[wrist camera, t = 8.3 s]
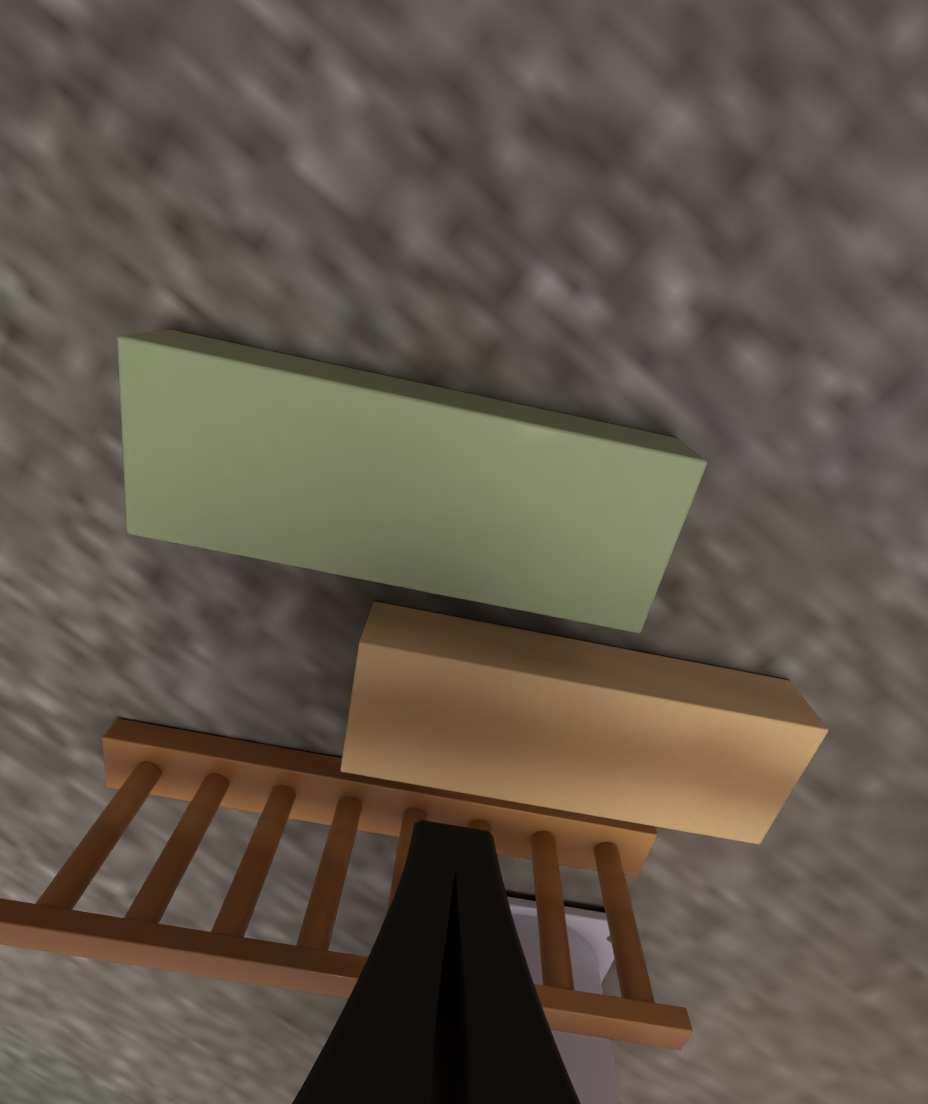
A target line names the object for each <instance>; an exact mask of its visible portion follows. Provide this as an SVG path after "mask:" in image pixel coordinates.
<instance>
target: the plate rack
mask: <svg viewBox="0 0 928 1104" xmlns="http://www.w3.org/2000/svg"><path fill="white" fill-rule="evenodd" d="M102 742H103V754H104V766H105V778H106V787H110V788H116V789H119V791H118V792H117V793H116V795H115V796H114V797H113V799H112V800H111V802H110V803H109V804H108V806H107V807H106V808H105V810H104V811H103V812H102V814H101V815H100V817H99V818H98V819H97V821H96V822H95V823H94V825H93V826H92V827H91V829H90V830H89V832H88V833H87V834H86V836H85V837H84V838H83V840H82V841H81V842H80V844H79V845H78V847H77V848H76V849H75V851H74V852H73V853H72V855H71V856H70V857H69V859H68V860H67V862H66V863H65V864H64V866H63V867H62V868H61V870H60V871H59V872H58V874H57V875H56V876H55V878H54V879H53V881H52V882H51V883H50V885H49V886H48V887H47V889H46V890H45V891H44V893H43V894H42V896H41V897H40V898H39V900H38V901H37V902H36V904H31V903H25V902H19V901H13V900H6V899H0V944H2V945H8V946H15V947H21V948H27V949H34V950H40V951H47V952H53V953H60V954H66V955H72V956H79V957H85V958H92V959H98V960H104V961H111V962H117V963H124V964H130V965H137V966H143V967H149V968H156V969H162V970H169V971H175V972H182V973H188V974H194V975H201V976H207V977H214V978H220V979H227V980H233V981H239V982H246V983H252V984H259V985H265V986H272V987H278V988H284V989H291V990H297V991H304V992H310V993H316V994H323V995H329V996H336V997H342V998H349V997H350V995H351V993H352V991H353V988H354V986H355V984H356V982H357V980H358V978H359V976H360V974H361V972H362V970H363V968H364V965H365V963H366V961H367V959H368V957H363V956H357V955H351V954H344V953H338V952H332V951H328V948H329V944H330V940H331V936H332V931H333V927H334V923H335V919H336V915H337V910H338V906H339V902H340V898H341V894H342V889H343V885H344V881H345V877H346V873H347V868H348V864H349V860H350V856H351V852H352V847H353V843H354V839H355V835H356V831H357V830H361V831H367V832H373V833H378V834H384V835H390V836H396V837H399V842H398V848H397V854H396V861H395V867H394V873H393V880H392V886H391V893H390V899H389V905H388V910H389V908H390V905H391V903H392V901H393V898H394V895H395V893H396V890H397V887H398V884H399V881H400V878H401V876H402V873H403V870H404V866H405V863H406V859H407V854H408V850H409V845H410V840H411V836H412V831H413V827H414V823H416V822H418V821H420V820H425V821H431V822H437V823H443V824H449V825H455V826H461V827H467V828H473V829H479V830H485V831H489V832H490V833H491V834H492V835H493V837H494V842H495V848H496V853H497V854H501V855H507V856H513V857H518V858H524V859H530V860H533V873H534V885H535V897H536V909H537V921H538V933H539V945H540V957H541V969H542V981H543V985H538V984H534V985H535V988H536V991H537V994H538V997H539V1000H540V1002H541V1005H542V1008H543V1011H544V1013H545V1016H546V1019H547V1021H548V1024H549V1026H550V1029H551V1030H554V1031H561V1032H567V1033H573V1034H580V1035H586V1036H593V1037H599V1038H606V1039H612V1040H618V1041H625V1042H631V1043H638V1044H644V1045H651V1046H657V1047H663V1048H670V1049H676V1050H681V1048H682V1047H683V1045H684V1044H685V1042H686V1041H687V1039H688V1038H689V1036H690V1035H691V1033H692V1027H691V1024H690V1020H689V1016H688V1013H687V1009H686V1008H682V1007H676V1006H670V1005H664V1004H657V1003H655V1001H654V997H653V993H652V989H651V984H650V980H649V976H648V972H647V968H646V963H645V959H644V955H643V951H642V947H641V943H640V938H639V934H638V930H637V926H636V922H635V917H634V913H633V909H632V905H631V901H630V896H629V892H628V888H627V884H626V880H625V876H629V877H635V878H636V877H637V876H638V874H639V872H640V870H641V868H642V866H643V864H644V862H645V860H646V858H647V856H648V854H649V852H650V850H651V848H652V846H653V844H654V842H655V840H656V838H657V831H656V828H655V826H650V825H645V824H639V823H633V822H627V821H622V820H616V819H610V818H604V817H599V816H593V815H587V814H581V813H576V812H570V811H564V810H559V809H553V808H547V807H541V806H536V805H530V804H524V803H518V802H513V801H507V800H501V799H495V798H490V797H484V796H478V795H472V794H467V793H461V792H455V791H450V790H444V789H438V788H432V787H427V786H421V785H415V784H409V783H404V782H398V781H392V780H386V779H381V778H375V777H369V776H363V775H358V774H352V773H346V772H341V770H340V768H341V761H342V758H337V757H332V756H326V755H321V754H315V753H309V752H304V751H298V750H292V749H287V748H281V747H276V746H270V745H264V744H259V743H253V742H247V741H242V740H236V739H231V738H225V737H219V736H214V735H208V734H202V733H197V732H191V731H186V730H180V729H174V728H169V727H163V726H158V725H152V724H146V723H141V722H135V721H129V720H124V719H118V720H117V721H116V722H115V723H114V724H113V726H112V727H111V728H110V729H109V730H108V731H107V733H106V734H105V735H104V736H103V737H102ZM149 794H151V795H157V796H163V797H168V798H174V799H180V800H186V801H191V803H190V804H189V806H188V808H187V810H186V811H185V813H184V815H183V817H182V818H181V820H180V822H179V823H178V825H177V827H176V829H175V830H174V832H173V834H172V836H171V837H170V839H169V841H168V843H167V844H166V846H165V848H164V849H163V851H162V853H161V855H160V856H159V858H158V860H157V862H156V863H155V865H154V867H153V869H152V870H151V872H150V874H149V876H148V877H147V879H146V881H145V882H144V884H143V886H142V888H141V889H140V891H139V893H138V895H137V896H136V898H135V900H134V902H133V903H132V905H131V907H130V909H129V910H128V912H127V914H126V915H125V917H124V918H119V917H113V916H107V915H100V914H94V913H88V912H81V911H75V910H72V909H73V907H74V906H75V904H76V903H77V901H78V900H79V899H80V897H81V896H82V894H83V893H84V891H85V890H86V888H87V887H88V885H89V884H90V882H91V881H92V879H93V878H94V876H95V875H96V873H97V872H98V870H99V869H100V867H101V866H102V864H103V863H104V861H105V860H106V858H107V857H108V855H109V854H110V852H111V851H112V849H113V848H114V846H115V845H116V843H117V842H118V840H119V839H120V837H121V836H122V834H123V833H124V831H125V830H126V828H127V827H128V825H129V824H130V822H131V821H132V819H133V818H134V816H135V815H136V813H137V812H138V810H139V809H140V807H141V806H142V804H143V803H144V801H145V800H146V798H147V797H148V795H149ZM219 806H221V807H227V808H233V809H238V810H244V811H250V812H256V813H262V814H261V816H260V819H259V821H258V823H257V826H256V828H255V830H254V833H253V835H252V837H251V840H250V842H249V844H248V847H247V849H246V851H245V854H244V856H243V858H242V861H241V863H240V865H239V868H238V870H237V872H236V875H235V877H234V879H233V882H232V884H231V886H230V889H229V891H228V893H227V896H226V898H225V900H224V903H223V905H222V907H221V910H220V912H219V914H218V917H217V919H216V921H215V924H214V926H213V928H212V931H211V932H207V931H200V930H194V929H188V928H182V927H175V926H169V925H163V924H158V923H159V921H160V919H161V917H162V916H163V914H164V912H165V910H166V908H167V906H168V904H169V902H170V900H171V898H172V896H173V894H174V892H175V890H176V888H177V886H178V885H179V883H180V881H181V879H182V877H183V875H184V873H185V871H186V869H187V867H188V865H189V863H190V861H191V859H192V857H193V856H194V854H195V852H196V850H197V848H198V846H199V844H200V842H201V840H202V838H203V836H204V834H205V832H206V830H207V828H208V826H209V825H210V823H211V821H212V819H213V817H214V815H215V813H216V811H217V809H218V807H219ZM288 818H291V819H297V820H303V821H308V822H314V823H320V824H326V825H331V827H330V831H329V834H328V838H327V841H326V844H325V848H324V851H323V855H322V858H321V862H320V865H319V869H318V872H317V876H316V879H315V883H314V886H313V890H312V893H311V896H310V900H309V903H308V907H307V910H306V914H305V917H304V921H303V924H302V928H301V931H300V935H299V938H298V941H297V945H296V946H294V945H288V944H282V943H276V942H269V941H263V940H257V939H250V938H244V935H245V932H246V930H247V927H248V924H249V922H250V919H251V916H252V913H253V911H254V908H255V905H256V903H257V900H258V897H259V895H260V892H261V889H262V887H263V884H264V881H265V879H266V876H267V873H268V871H269V868H270V865H271V863H272V860H273V857H274V855H275V852H276V849H277V847H278V844H279V841H280V839H281V836H282V833H283V831H284V828H285V825H286V823H287V820H288ZM559 865H565V866H571V867H577V868H583V869H588V870H594V871H598V876H599V881H600V886H601V892H602V897H603V902H604V907H605V912H606V917H607V923H608V928H609V933H610V938H611V943H612V949H613V954H614V959H615V964H616V969H617V974H618V980H619V985H620V990H621V995H622V998H620V997H614V996H607V995H601V994H595V993H588V992H582V991H576V990H575V989H574V981H573V973H572V966H571V958H570V950H569V942H568V934H567V926H566V919H565V911H564V903H563V895H562V887H561V879H560V872H559ZM387 913H388V912H387Z"/></svg>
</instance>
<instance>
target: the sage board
mask: <svg viewBox="0 0 928 1104" xmlns="http://www.w3.org/2000/svg"><path fill="white" fill-rule="evenodd" d="M117 340H118V361H119V381H120V402H121V422H122V443H123V463H124V484H125V504H126V525H127V533H128V534H131V535H136V536H142V537H147V538H152V539H157V540H162V541H167V542H172V543H177V544H183V545H188V546H193V547H198V548H203V549H208V550H213V551H219V552H224V553H229V554H234V555H239V556H244V557H249V558H254V559H260V560H265V561H270V562H275V563H280V564H285V565H290V566H296V567H301V568H306V569H311V570H316V571H321V572H326V573H331V574H337V575H342V576H347V577H352V578H357V579H362V580H367V581H373V582H378V583H383V584H388V585H393V586H398V587H403V588H408V589H414V590H419V591H424V592H429V593H434V594H439V595H444V596H450V597H455V598H460V599H465V600H470V601H475V602H480V603H485V604H491V605H496V606H501V607H506V608H511V609H516V610H521V611H527V612H532V613H537V614H542V615H547V616H552V617H557V618H562V619H568V620H573V621H578V622H583V623H588V624H593V625H598V626H604V627H609V628H614V629H619V630H624V631H629V632H634V633H640V632H641V630H642V628H643V625H644V623H645V620H646V618H647V615H648V613H649V610H650V608H651V605H652V602H653V600H654V597H655V595H656V592H657V590H658V587H659V585H660V582H661V580H662V577H663V574H664V572H665V569H666V567H667V564H668V562H669V559H670V557H671V554H672V552H673V549H674V547H675V544H676V541H677V539H678V536H679V534H680V531H681V529H682V526H683V524H684V521H685V519H686V516H687V513H688V511H689V508H690V506H691V503H692V501H693V498H694V496H695V493H696V491H697V488H698V485H699V483H700V480H701V478H702V475H703V473H704V470H705V468H706V465H707V461H706V460H705V459H703V458H702V457H701V456H700V455H698V454H697V453H696V452H694V451H693V450H692V449H690V448H689V447H688V446H687V445H685V444H684V443H683V442H681V441H680V440H679V439H677V438H675V437H670V436H666V435H661V434H656V433H652V432H647V431H642V430H638V429H633V428H628V427H624V426H619V425H614V424H610V423H605V422H600V421H595V420H591V419H586V418H581V417H577V416H572V415H567V414H563V413H558V412H553V411H549V410H544V409H539V408H535V407H530V406H525V405H521V404H516V403H511V402H507V401H502V400H497V399H493V398H488V397H483V396H479V395H474V394H469V393H465V392H460V391H455V390H451V389H446V388H441V387H437V386H432V385H427V384H423V383H418V382H413V381H409V380H404V379H399V378H395V377H390V376H385V375H381V374H376V373H371V372H367V371H362V370H357V369H353V368H348V367H343V366H339V365H334V364H329V363H325V362H320V361H315V360H311V359H306V358H301V357H297V356H292V355H287V354H283V353H278V352H273V351H269V350H264V349H259V348H255V347H250V346H245V345H241V344H236V343H231V342H227V341H222V340H217V339H213V338H208V337H203V336H199V335H194V334H189V333H185V332H180V331H175V330H162V331H154V332H146V333H138V334H130V335H122V336H119V337H118V339H117Z"/></svg>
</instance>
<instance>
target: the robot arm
mask: <svg viewBox="0 0 928 1104" xmlns="http://www.w3.org/2000/svg"><path fill="white" fill-rule="evenodd" d="M564 911H565V919H566V926H567V934H568V942H569V950H570V958H571V966H572V973H573V981H574V989H575V990H576V991H582V992H588V993H595V994H601V995H603V991H602V985H601V983H602V981H603V979H604V977H605V976H606V974H607V972H608V970H609V968H610V966H611V964H612V962H613V960H614V954H613V949H612V943H611V938H610V933H609V928H608V923H607V917H606V913H603V912H597V911H591V910H585V909H579V908H573V907H567V906H564ZM534 984H538V985H543V981H542V969H541V957H540V945H539V933H538V921H537V909H536V901H532V900H526V899H520V898H514V897H508V896H507V895H506V891H505V887H504V883H503V880H502V875H501V871H500V867H499V862H498V858H497V853H496V848H495V842H494V837H493V835H492V834H491V833H490V832H489V831H485V830H479V829H473V828H467V827H461V826H455V825H449V824H443V823H437V822H431V821H425V820H420V821H418V822H416V823H414V827H413V831H412V836H411V840H410V845H409V850H408V854H407V859H406V863H405V866H404V870H403V873H402V876H401V878H400V881H399V884H398V887H397V890H396V893H395V895H394V898H393V901H392V903H391V905H390V908H389V910H388V913H387V915H386V917H385V920H384V922H383V925H382V927H381V930H380V932H379V934H378V937H377V939H376V942H375V944H374V946H373V948H372V951H371V953H370V955H369V957H368V959H367V961H366V963H365V965H364V968H363V970H362V972H361V974H360V976H359V978H358V980H357V982H356V984H355V986H354V988H353V991H352V993H351V995H350V997H349V999H348V1001H347V1003H346V1005H345V1007H344V1009H343V1011H342V1013H341V1015H340V1017H339V1019H338V1021H337V1023H336V1025H335V1026H334V1028H333V1030H332V1032H331V1034H330V1036H329V1038H328V1040H327V1042H326V1044H325V1045H324V1047H323V1049H322V1051H321V1053H320V1055H319V1057H318V1058H317V1060H316V1062H315V1064H314V1066H313V1067H312V1069H311V1071H310V1073H309V1075H308V1077H307V1078H306V1080H305V1082H304V1084H303V1086H302V1087H301V1089H300V1091H299V1093H298V1094H297V1096H296V1098H295V1099H294V1101H293V1103H292V1104H621V1099H620V1093H619V1087H618V1081H617V1075H616V1069H615V1063H614V1057H613V1051H612V1045H611V1039H606V1038H599V1037H593V1036H586V1035H580V1034H573V1033H567V1032H561V1031H554V1030H551V1029H550V1026H549V1024H548V1021H547V1019H546V1016H545V1013H544V1011H543V1008H542V1005H541V1002H540V1000H539V997H538V994H537V991H536V988H535V985H534Z"/></svg>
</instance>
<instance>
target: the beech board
mask: <svg viewBox="0 0 928 1104" xmlns="http://www.w3.org/2000/svg"><path fill="white" fill-rule="evenodd" d="M827 732H828V729H827V727H826V726H825V725H824V723H823V722H822V721H821V720H820V718H819V717H818V716H817V715H816V713H815V712H814V711H813V709H812V708H811V707H810V706H809V704H808V703H807V702H806V700H805V699H804V698H803V697H802V695H801V694H800V693H799V692H798V690H797V689H796V688H795V686H794V685H793V684H792V683H791V681H789V680H784V679H779V678H774V677H769V676H763V675H758V674H753V673H748V672H743V671H737V670H732V669H727V668H722V667H716V666H711V665H706V664H701V663H695V662H690V661H685V660H680V659H674V658H669V657H664V656H659V655H653V654H648V653H643V652H638V651H632V650H627V649H622V648H617V647H611V646H606V645H601V644H596V643H590V642H585V641H580V640H575V639H569V638H564V637H559V636H554V635H549V634H543V633H538V632H533V631H528V630H522V629H517V628H512V627H507V626H501V625H496V624H491V623H486V622H480V621H475V620H470V619H465V618H459V617H454V616H449V615H444V614H438V613H433V612H428V611H423V610H417V609H412V608H407V607H402V606H396V605H391V604H386V603H381V602H374V603H373V605H372V608H371V611H370V614H369V616H368V619H367V622H366V625H365V628H364V630H363V633H362V636H361V639H360V642H359V646H358V653H357V660H356V667H355V673H354V680H353V687H352V694H351V700H350V707H349V714H348V721H347V728H346V734H345V741H344V748H343V755H342V761H341V768H340V770H341V772H346V773H352V774H358V775H363V776H369V777H375V778H381V779H386V780H392V781H398V782H404V783H409V784H415V785H421V786H427V787H432V788H438V789H444V790H450V791H455V792H461V793H467V794H472V795H478V796H484V797H490V798H495V799H501V800H507V801H513V802H518V803H524V804H530V805H536V806H541V807H547V808H553V809H559V810H564V811H570V812H576V813H581V814H587V815H593V816H599V817H604V818H610V819H616V820H622V821H627V822H633V823H639V824H645V825H650V826H656V827H662V828H668V829H673V830H679V831H685V832H690V833H696V834H702V835H708V836H713V837H719V838H725V839H731V840H736V841H742V842H748V843H754V844H760V843H761V841H762V840H763V838H764V836H765V835H766V833H767V831H768V830H769V828H770V827H771V825H772V823H773V822H774V820H775V818H776V817H777V815H778V813H779V812H780V810H781V808H782V807H783V805H784V803H785V802H786V800H787V798H788V797H789V795H790V793H791V792H792V790H793V789H794V787H795V785H796V784H797V782H798V780H799V779H800V777H801V775H802V774H803V772H804V770H805V769H806V767H807V765H808V764H809V762H810V760H811V759H812V757H813V755H814V754H815V752H816V751H817V749H818V747H819V746H820V744H821V742H822V741H823V739H824V737H825V736H826V734H827Z"/></svg>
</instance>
